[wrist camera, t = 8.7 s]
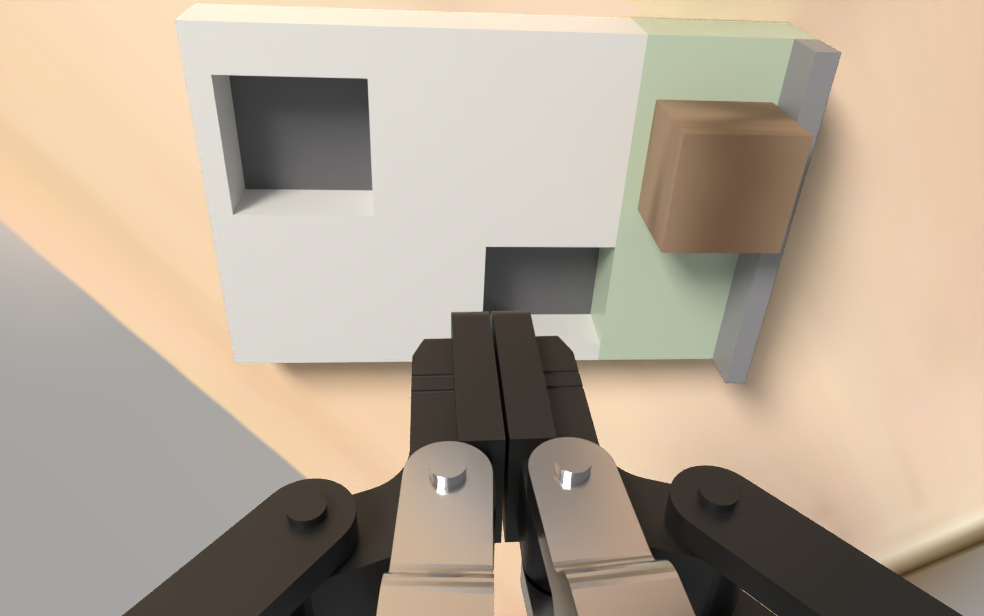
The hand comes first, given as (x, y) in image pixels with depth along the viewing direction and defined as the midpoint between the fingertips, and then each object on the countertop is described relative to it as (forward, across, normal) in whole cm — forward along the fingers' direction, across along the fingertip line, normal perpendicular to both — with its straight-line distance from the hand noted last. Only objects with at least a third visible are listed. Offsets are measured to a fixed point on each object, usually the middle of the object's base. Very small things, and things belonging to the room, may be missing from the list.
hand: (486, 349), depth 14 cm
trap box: (+22, -2, +6) cm, 22 cm away
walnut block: (+18, -11, +4) cm, 22 cm away
